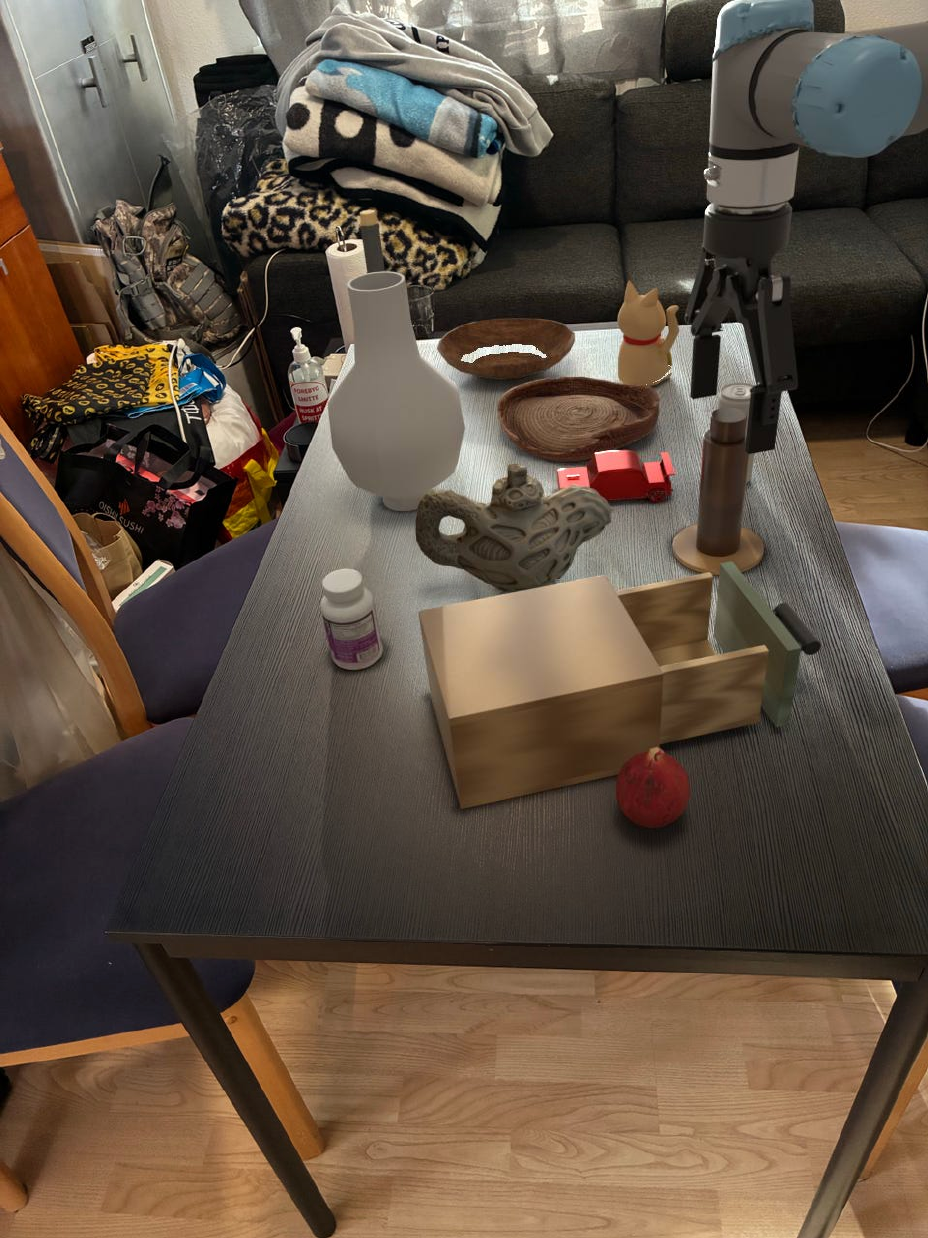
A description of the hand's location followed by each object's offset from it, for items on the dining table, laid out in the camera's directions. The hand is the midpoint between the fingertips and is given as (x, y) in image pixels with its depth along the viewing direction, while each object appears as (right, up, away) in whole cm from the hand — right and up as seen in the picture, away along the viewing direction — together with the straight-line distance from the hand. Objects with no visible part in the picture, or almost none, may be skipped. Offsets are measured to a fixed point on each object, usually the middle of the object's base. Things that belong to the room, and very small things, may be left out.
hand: (730, 421), depth 97 cm
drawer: (-6, -27, -9) cm, 29 cm away
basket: (-11, +6, +36) cm, 38 cm away
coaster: (+1, -12, +10) cm, 16 cm away
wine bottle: (-37, +8, +43) cm, 57 cm away
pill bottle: (-38, -24, +1) cm, 45 cm away
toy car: (-9, -5, +21) cm, 24 cm away
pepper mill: (+1, -12, +10) cm, 15 cm away
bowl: (-20, +20, +55) cm, 62 cm away
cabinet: (-21, -30, -10) cm, 38 cm away
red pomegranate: (-12, -37, -20) cm, 44 cm away
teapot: (-21, -16, +8) cm, 28 cm away
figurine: (+1, +16, +47) cm, 50 cm away
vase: (-35, -5, +25) cm, 43 cm away
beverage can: (+6, -3, +22) cm, 23 cm away
